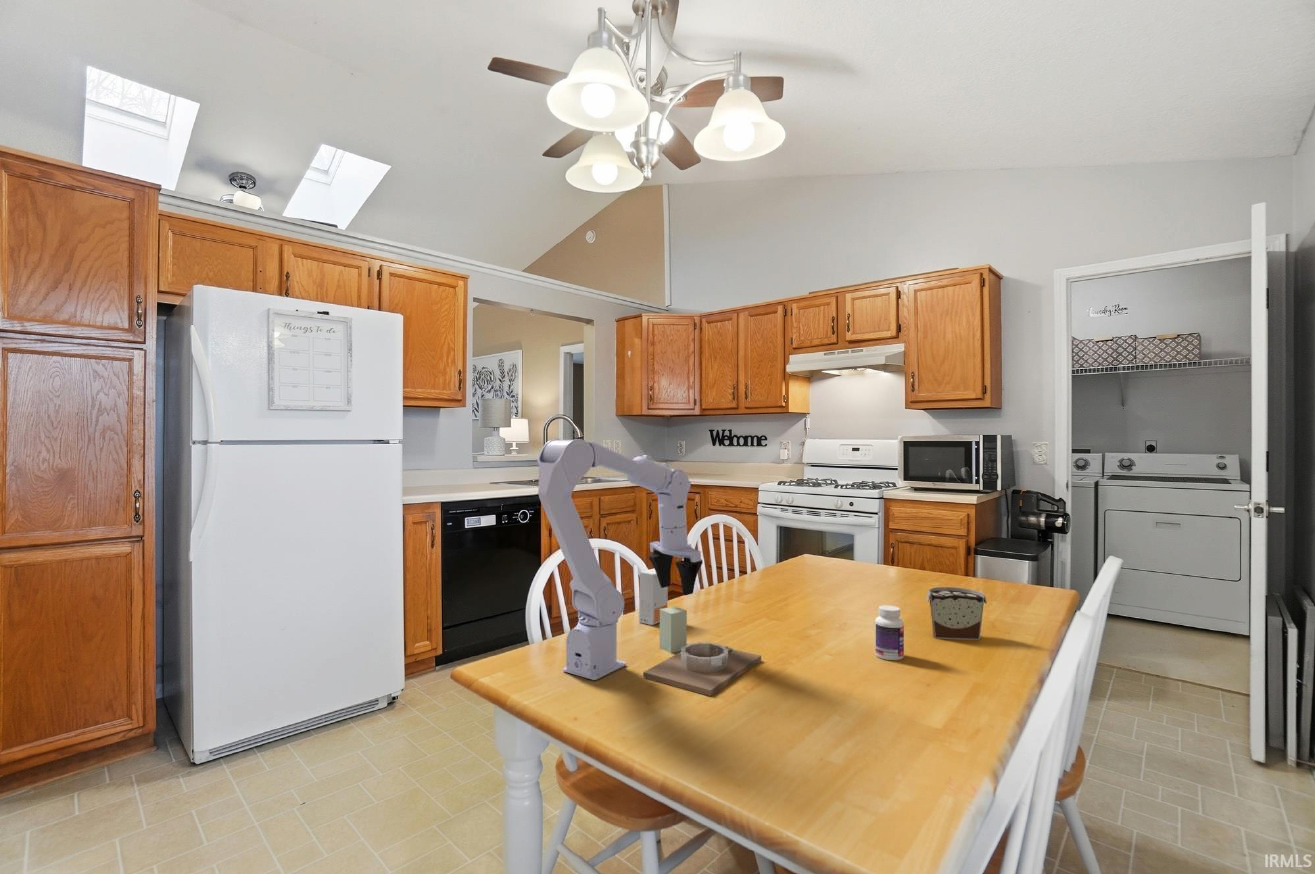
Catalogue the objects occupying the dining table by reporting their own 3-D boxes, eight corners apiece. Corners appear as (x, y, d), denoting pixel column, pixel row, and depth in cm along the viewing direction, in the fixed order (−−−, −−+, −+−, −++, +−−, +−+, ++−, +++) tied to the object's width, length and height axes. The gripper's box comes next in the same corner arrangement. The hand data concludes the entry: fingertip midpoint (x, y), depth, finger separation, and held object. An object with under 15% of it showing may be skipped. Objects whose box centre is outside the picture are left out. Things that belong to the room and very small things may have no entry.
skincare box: (652, 626, 141) (653, 574, 141) (638, 622, 143) (638, 572, 143) (668, 620, 146) (668, 570, 146) (654, 616, 148) (654, 567, 148)
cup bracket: (710, 696, 102) (710, 675, 102) (643, 677, 110) (643, 658, 110) (761, 660, 119) (761, 642, 119) (699, 646, 127) (699, 629, 127)
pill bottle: (906, 662, 118) (906, 612, 118) (877, 660, 119) (877, 610, 119) (901, 652, 124) (901, 604, 124) (873, 650, 125) (873, 603, 125)
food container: (974, 631, 138) (974, 587, 138) (986, 640, 131) (986, 594, 131) (918, 629, 139) (918, 585, 139) (927, 638, 133) (927, 592, 133)
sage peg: (686, 649, 125) (686, 610, 125) (671, 653, 123) (671, 613, 123) (674, 643, 129) (675, 606, 129) (659, 647, 126) (659, 609, 126)
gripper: (710, 527, 123) (714, 593, 124) (666, 519, 135) (670, 579, 135) (684, 532, 119) (687, 601, 120) (640, 524, 131) (644, 586, 131)
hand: (676, 590), depth 127 cm, fingers open, 7 cm apart
